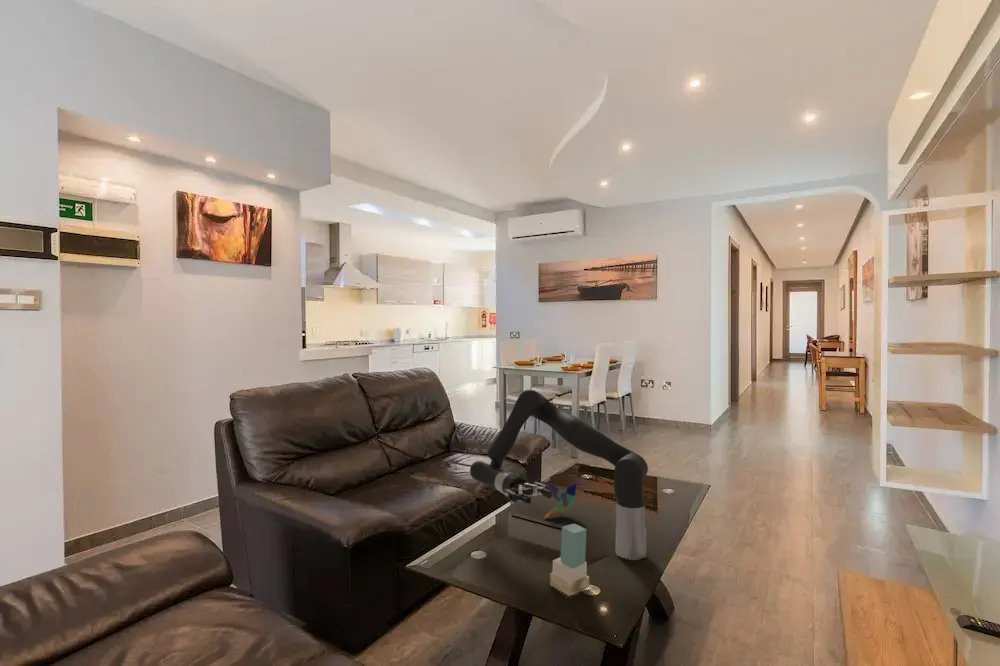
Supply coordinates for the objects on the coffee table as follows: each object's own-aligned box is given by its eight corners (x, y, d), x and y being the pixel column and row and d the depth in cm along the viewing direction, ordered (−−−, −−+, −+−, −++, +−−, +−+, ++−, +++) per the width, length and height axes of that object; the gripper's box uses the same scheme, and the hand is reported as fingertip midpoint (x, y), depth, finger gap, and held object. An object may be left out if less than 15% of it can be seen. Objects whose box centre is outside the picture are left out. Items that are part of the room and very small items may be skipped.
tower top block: (568, 566, 150) (568, 553, 150) (586, 575, 144) (586, 562, 144) (552, 573, 145) (552, 560, 145) (570, 583, 140) (570, 570, 140)
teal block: (573, 556, 148) (574, 523, 148) (584, 563, 144) (586, 529, 143) (560, 560, 145) (562, 526, 145) (572, 567, 141) (573, 533, 141)
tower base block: (570, 578, 151) (570, 565, 151) (589, 590, 144) (589, 576, 144) (550, 586, 146) (550, 573, 146) (568, 599, 140) (569, 585, 139)
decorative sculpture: (595, 521, 193) (596, 483, 192) (553, 528, 186) (554, 488, 186) (573, 505, 209) (573, 470, 208) (533, 511, 202) (534, 475, 201)
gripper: (493, 477, 166) (523, 490, 153) (526, 469, 174) (557, 481, 161) (493, 499, 166) (523, 514, 153) (526, 491, 175) (557, 504, 161)
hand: (540, 497), depth 157 cm, fingers open, 8 cm apart
